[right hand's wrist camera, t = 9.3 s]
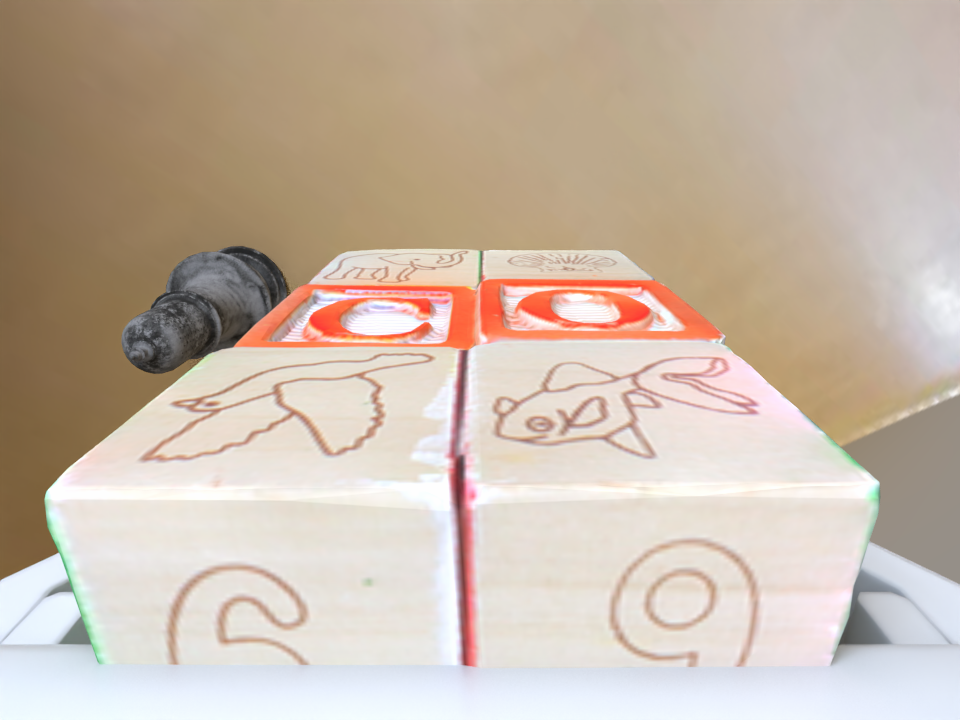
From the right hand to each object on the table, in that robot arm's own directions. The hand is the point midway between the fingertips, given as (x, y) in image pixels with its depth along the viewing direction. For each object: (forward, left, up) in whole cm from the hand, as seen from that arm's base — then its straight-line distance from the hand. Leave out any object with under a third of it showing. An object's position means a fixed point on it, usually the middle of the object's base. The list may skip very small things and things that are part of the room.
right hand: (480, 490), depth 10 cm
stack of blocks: (+7, 0, -4) cm, 8 cm away
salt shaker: (+3, -15, -26) cm, 30 cm away
